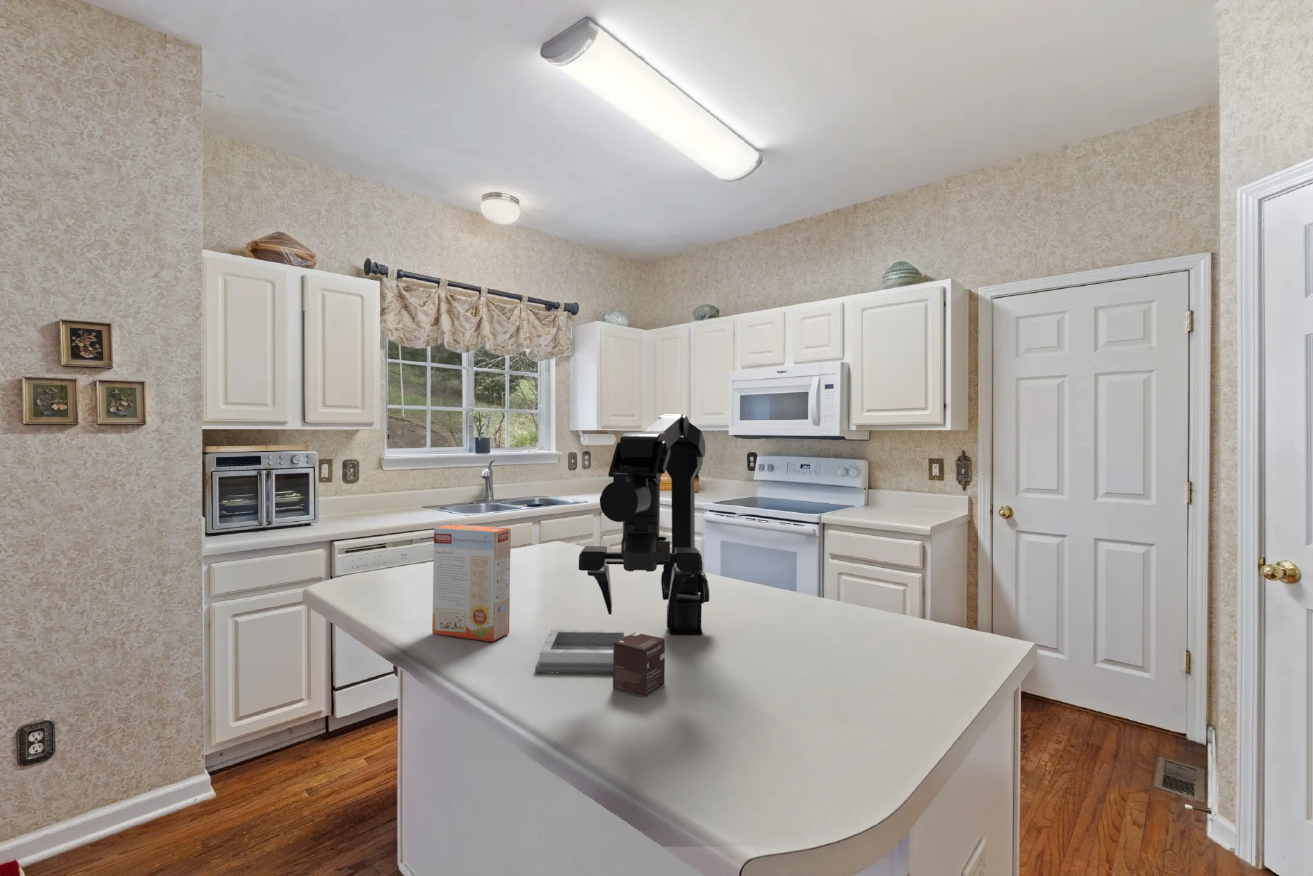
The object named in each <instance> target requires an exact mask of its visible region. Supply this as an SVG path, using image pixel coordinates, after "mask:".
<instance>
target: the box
mask: <svg viewBox="0 0 1313 876" xmlns="http://www.w3.org/2000/svg"><path fill="white" fill-rule="evenodd" d="M665 643H666V638H663V637H658V636H655V635H654V636H653V635H649V634H644V633H640V632H633V633H631V634H629V635H624V637H623V638H621V639H619V640H617V641H615V642H614V650H613V653H614V654H613V674H612V689H613V690H617V691H619V692H625V693H627V694H630V695H631V694H632V695H635V696H638V697H641V698H646V697H647V696H649V695H651V694H653V693H654V692H656V691H657V690H659V689H660V688H661V687H663V686H665V683H666V682H665V676H666V675H665V674H666V673H665V671H666V670H665V667H666V665H665V664H666V663H665V662H666V660H665V659H666V651H665V650H666V647H665V645H666V644H665Z"/></svg>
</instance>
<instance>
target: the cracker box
mask: <svg viewBox="0 0 1313 876" xmlns="http://www.w3.org/2000/svg"><path fill="white" fill-rule="evenodd" d="M511 531H512V530H511V528H510V527H496V526H485V525H484V526H482V525H472V524H471V525H470V524H468V525H467V524H445V525H441V526H437V527H435V528H433V561H432V562H433V566H432V567H433V572H432V574H433V576H432V581H433V582H432V622H431V623H432V624H431V626H432V629H431V631H432V635H439V636H440V635H441V636H447V637H453V636H454V638H455V637H456V638H461V639H462V638H463V639H469V640H475V641H483V642H489V643H490V642H492V643H493V642H495V641H497V640H499V639H501V638H503V637H504V636H506V635H508V634H509V633H510V613H511V612H510V611H511V610H510V605H511V603H510V602H511V601H510V598H511V597H510V596H511V595H510V593H511V592H510V591H511V589H510V588H511Z"/></svg>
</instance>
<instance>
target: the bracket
mask: <svg viewBox="0 0 1313 876" xmlns="http://www.w3.org/2000/svg"><path fill="white" fill-rule="evenodd" d="M623 637H625V629H563V628H561V629H556V628H555V629H550V631H549V633H548V635H547V637H546V639H545V641H544V643H543V645H542V647H541V650H540V651H539V657H538V658H539V659H538V661H537V663H536V665H535V667H534V668H535V670H534V673H535V672H545V673H544V674H547V673H546V672H549V673H548V674H551V673H550V672H554V673H553V674H583V675H584V674H585V675H586V674H590V675H591V674H596V675H597V674H599V675H600V674H601V675H602V674H604V675H613V654H614V653H613V650H614V642H615V641H617V640H619V639H621V638H623ZM556 672H558V673H556Z"/></svg>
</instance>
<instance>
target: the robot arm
mask: <svg viewBox="0 0 1313 876" xmlns="http://www.w3.org/2000/svg"><path fill="white" fill-rule="evenodd" d="M705 454H706V441H705V438H704V435H703V432H702V429H700V428H698V427H697V426H696V425H694V424H692V423H691V422H690V420H689V416H687V415H684V414H681V413H680V414H677V413H676V414H675V413H673V414H672V413H671V414H669V413H668V414H667V413H664V414H663V415H660V416H659V417H658V420H655V422H654V423H652V424H651V425H650V426H648V427H647V428H646V429H645V430H643V431H631V432H626V433H625V432H624V433H623V434H622V435H621V436H620V438H619V440H618V441H617V443H616V446H615V449H614V453H613V457H612V460H611V463H610V467H609V470H608V477H609V478H613V480H612V482H610V483H608V484H607V485H606V486H605V487H604V489H603V490H602V492H601V493H600V496H599V506H600V509H601V511H602V513H603V515H604V516H605V517H606V518H607V519H609V520H610V521H612V522H616V523H621V522H622V538H621V546H620V547H621V550H620V551H621V552H619V551H618V552H617V551H608V546H606V545H605V546H597V545H593V546H591V545H589V546H588V545H586V546H584V547H583V549H581V551H580V553H579V555H578V571H581V572H582V571H584V572H587V573H586V574H587V576H588V577H594V579H595V581H596V582H597V584H598V586H599V588H600V590H601V593H602V597H603V599H604V603H605V607H606V609H607V610H606V611H607V613H608V615H612V611H613V598H612V597H613V596H612V588H611V587H612V586H611V575H610V566H609V565H623V569H624V570H625V571H627V572H634V571H645V572H647V573H649V572H650V573H651V572H654V571H656V570H657V567H658V566H662V569H663V570H662V572H661V577H660V583H661V585H660V586H661V592H662V593H661V594H662V600H665V601H666V600H667V601H668V603H667V605H666V628H667V629H668V630H669V634H670V635H703V628H702V613H703V611H702V610H703V608H702V607H703V606H702V604H704V603H708V602H709V603H710V587H709V581H708V579H707V575H706V573H705V572H704V564H703V556H702V554H701V552H700V550H699V549H698V548H697V547H696V543H695V540H696V537H695V535H696V534H695V533H696V532H695V527H696V526H695V525H696V524H695V522H696V521H695V507H696V506H695V495H696V494H695V492H696V491H695V480H696V479H695V477H696V475H697V474H698V472H699V471H700V469H701V468H702V466H703V461H704V460H703V459H704V458H705ZM666 472H667V475H668V476H669V477H670V479H671V480H670V481H671V537H670V536H662V535H661V536H660V520H661V519H660V518H661V517H660V514H661V513H660V510H661V508H660V506H661V505H660V504H661V502H660V501H661V498H660V497H661V482H662V475H664V474H665V473H666Z"/></svg>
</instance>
